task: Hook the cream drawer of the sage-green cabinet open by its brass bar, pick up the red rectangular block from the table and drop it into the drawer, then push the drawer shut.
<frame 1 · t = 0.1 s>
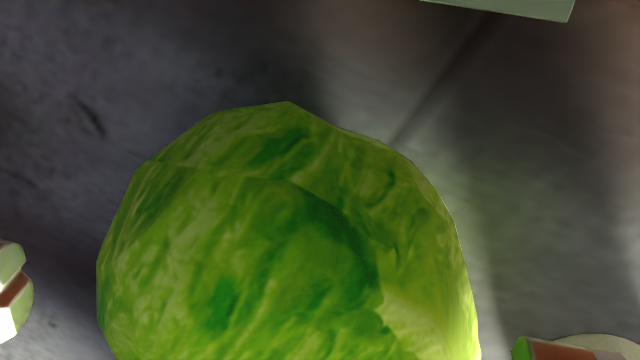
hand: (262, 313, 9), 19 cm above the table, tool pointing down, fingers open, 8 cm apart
lettuce: (330, 205, 32), on the table
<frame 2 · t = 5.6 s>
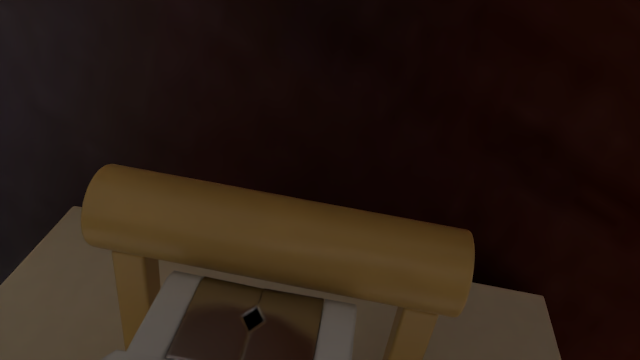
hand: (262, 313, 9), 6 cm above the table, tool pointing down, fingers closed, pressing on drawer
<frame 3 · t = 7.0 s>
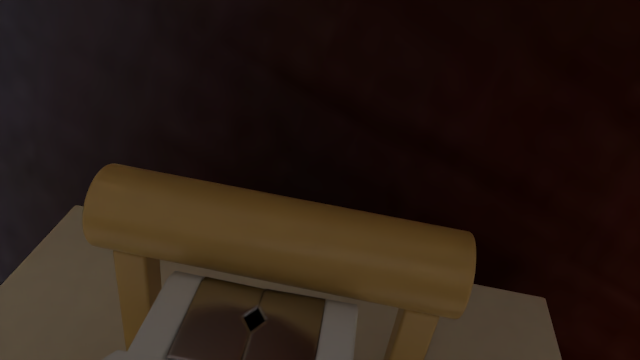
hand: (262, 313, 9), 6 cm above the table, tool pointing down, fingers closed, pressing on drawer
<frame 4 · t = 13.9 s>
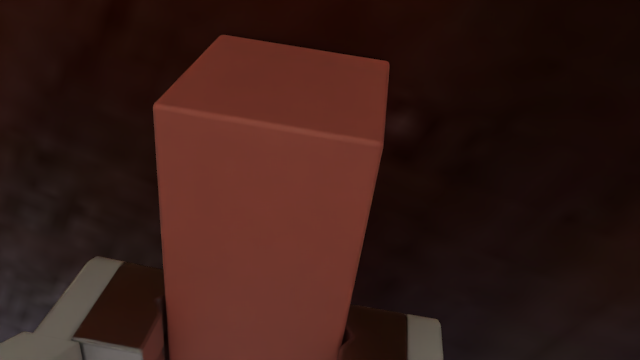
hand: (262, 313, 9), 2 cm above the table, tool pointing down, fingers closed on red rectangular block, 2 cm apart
red rectangular block: (283, 248, 10), on the table, touching gripper
when the fingers open (7 cm above the table, at t = 21.0 s): red rectangular block drops 3 cm, resting on drawer.
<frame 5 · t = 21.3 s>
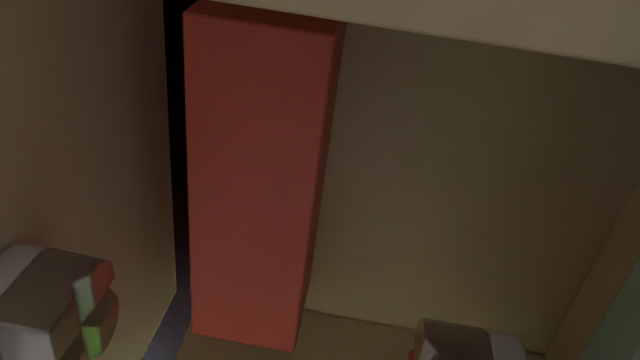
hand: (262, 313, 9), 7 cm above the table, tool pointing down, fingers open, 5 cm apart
drawer: (248, 213, 11), point 5 cm above the table, slide at 8.2 cm, touching gripper, red rectangular block
red rectangular block: (274, 153, 13), point 2 cm above the table, touching drawer
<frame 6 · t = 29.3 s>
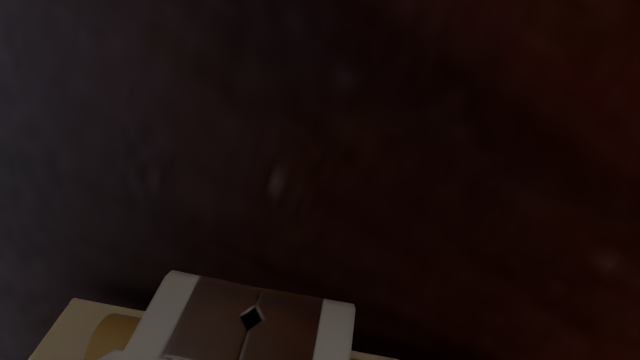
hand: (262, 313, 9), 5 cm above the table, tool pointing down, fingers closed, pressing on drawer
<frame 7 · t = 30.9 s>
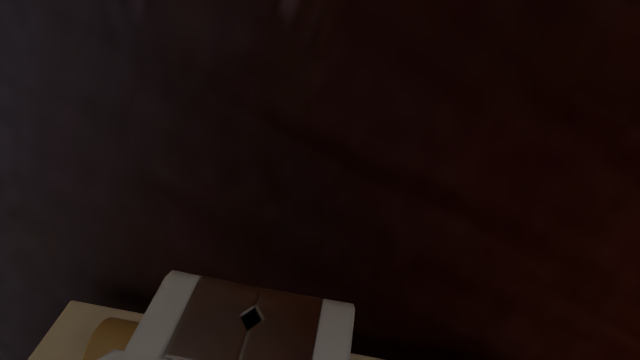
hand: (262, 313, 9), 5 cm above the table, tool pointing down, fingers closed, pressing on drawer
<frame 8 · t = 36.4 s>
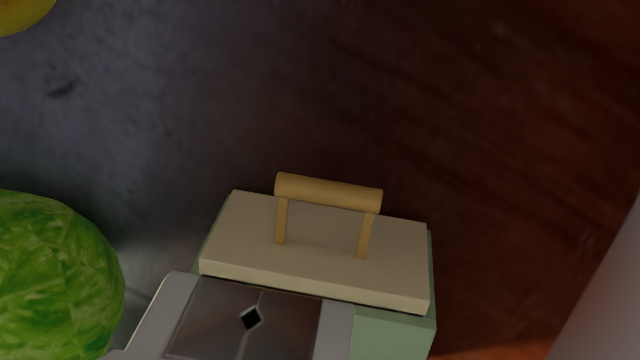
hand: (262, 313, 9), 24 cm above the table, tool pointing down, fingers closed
lettuce: (52, 244, 43), on the table
drawer: (314, 288, 35), point 5 cm above the table, slide at 0.0 cm, touching red rectangular block
cabinet: (317, 285, 41), on the table
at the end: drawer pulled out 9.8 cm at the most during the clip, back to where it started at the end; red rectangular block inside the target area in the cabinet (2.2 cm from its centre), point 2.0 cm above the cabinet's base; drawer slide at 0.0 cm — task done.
